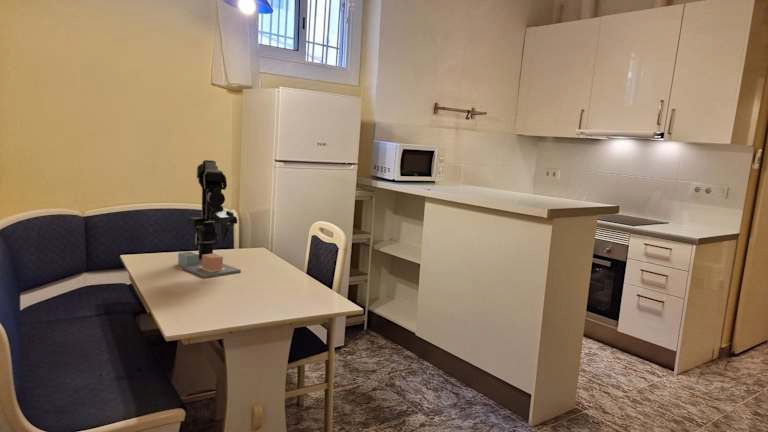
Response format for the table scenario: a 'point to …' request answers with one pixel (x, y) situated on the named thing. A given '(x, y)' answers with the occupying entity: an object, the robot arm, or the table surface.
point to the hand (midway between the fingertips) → (212, 242)
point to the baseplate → (208, 273)
